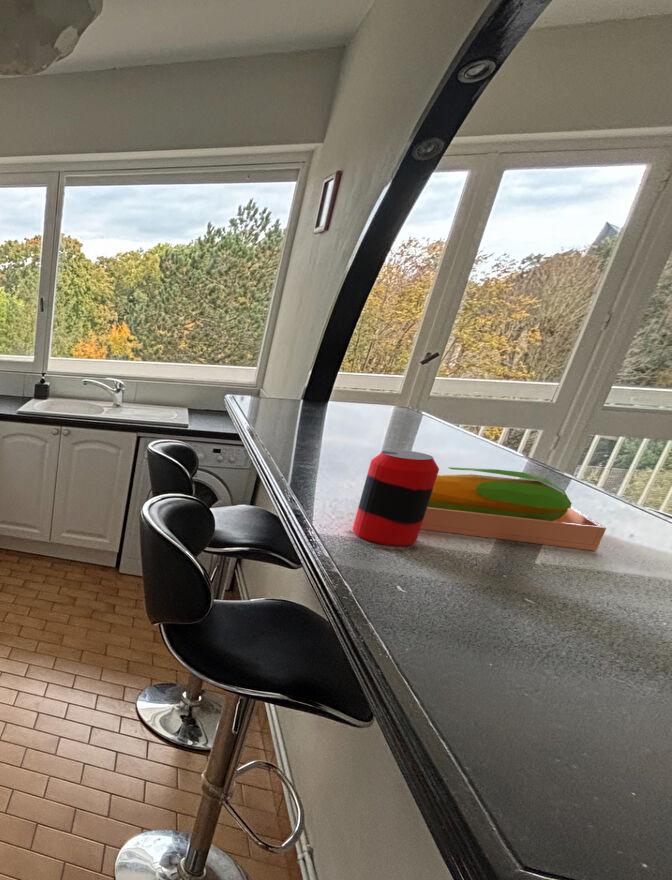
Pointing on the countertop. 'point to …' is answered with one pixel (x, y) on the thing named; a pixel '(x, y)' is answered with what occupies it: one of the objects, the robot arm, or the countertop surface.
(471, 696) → the countertop surface
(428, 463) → the soda can
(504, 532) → the pan
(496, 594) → the countertop surface
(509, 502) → the corn
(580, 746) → the countertop surface
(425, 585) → the countertop surface
